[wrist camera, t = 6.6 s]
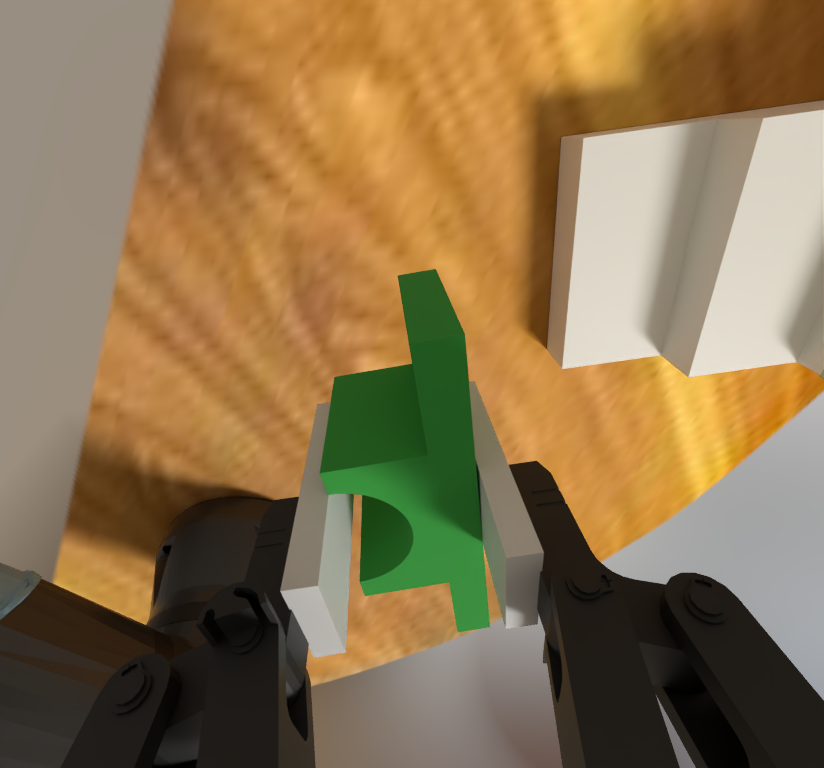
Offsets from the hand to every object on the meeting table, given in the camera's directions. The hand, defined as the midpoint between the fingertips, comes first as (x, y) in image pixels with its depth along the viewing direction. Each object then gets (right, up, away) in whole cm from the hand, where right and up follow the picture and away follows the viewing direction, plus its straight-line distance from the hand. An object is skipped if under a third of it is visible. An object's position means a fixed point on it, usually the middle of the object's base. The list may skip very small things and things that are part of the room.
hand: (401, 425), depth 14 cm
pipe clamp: (0, 0, +1) cm, 1 cm away
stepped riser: (+22, +12, +13) cm, 28 cm away
